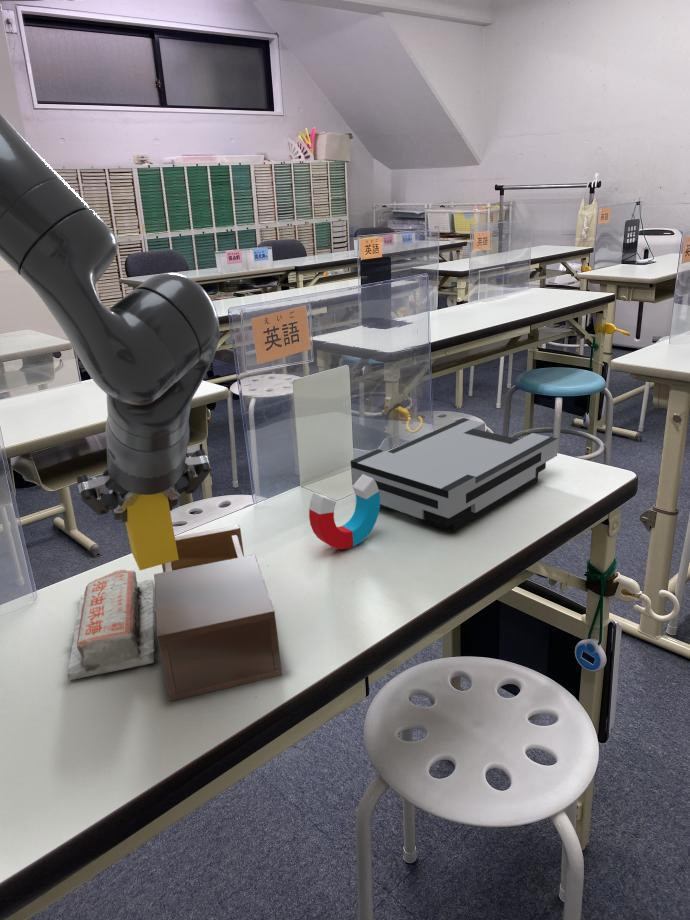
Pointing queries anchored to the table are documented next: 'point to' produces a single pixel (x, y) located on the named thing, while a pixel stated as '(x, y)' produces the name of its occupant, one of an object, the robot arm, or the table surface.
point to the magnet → (359, 522)
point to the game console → (455, 472)
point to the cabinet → (215, 627)
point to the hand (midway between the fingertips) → (144, 509)
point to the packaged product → (114, 626)
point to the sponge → (151, 531)
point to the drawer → (207, 548)
